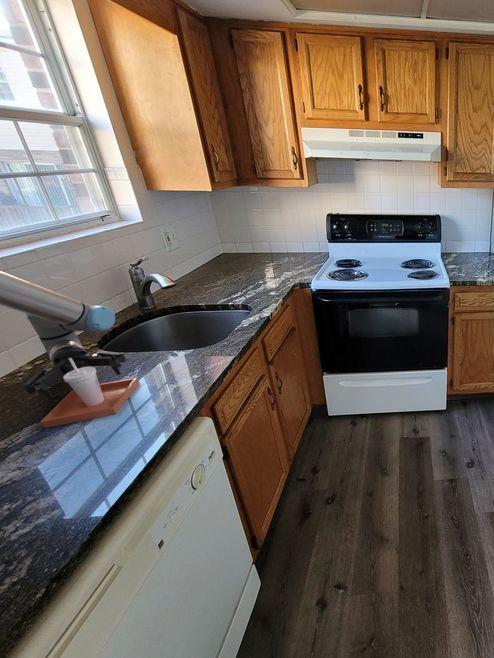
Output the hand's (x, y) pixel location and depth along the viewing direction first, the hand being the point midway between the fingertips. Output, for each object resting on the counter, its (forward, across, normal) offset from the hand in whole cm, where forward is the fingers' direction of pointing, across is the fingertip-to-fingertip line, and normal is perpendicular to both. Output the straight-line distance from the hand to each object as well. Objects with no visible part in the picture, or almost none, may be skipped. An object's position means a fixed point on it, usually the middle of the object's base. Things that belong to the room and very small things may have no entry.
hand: (84, 381), depth 95 cm
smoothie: (-3, 0, -8) cm, 9 cm away
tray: (-3, 0, -9) cm, 9 cm away
